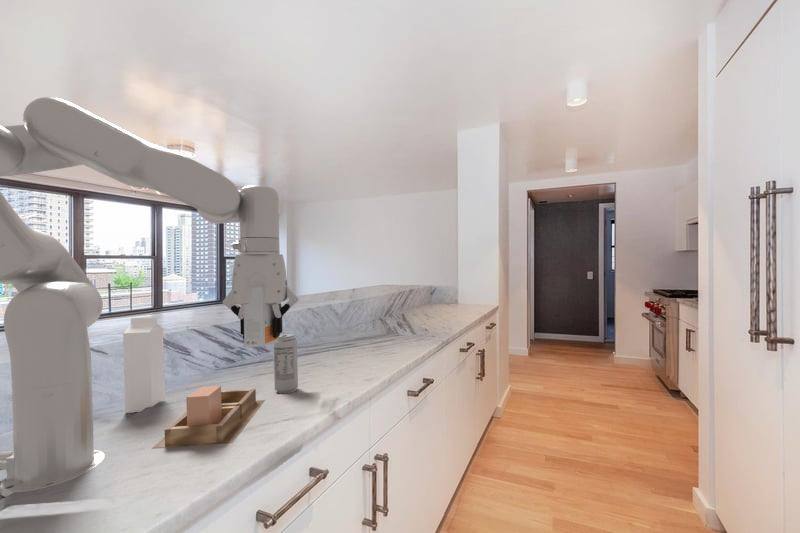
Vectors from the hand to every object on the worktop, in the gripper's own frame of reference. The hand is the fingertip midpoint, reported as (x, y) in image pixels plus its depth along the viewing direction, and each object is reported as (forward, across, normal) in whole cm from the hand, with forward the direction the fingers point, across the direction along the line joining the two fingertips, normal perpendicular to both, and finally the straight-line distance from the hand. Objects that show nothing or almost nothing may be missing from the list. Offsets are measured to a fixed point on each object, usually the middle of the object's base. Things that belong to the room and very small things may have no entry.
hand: (261, 336), depth 75 cm
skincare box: (+2, 0, 0) cm, 2 cm away
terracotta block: (+18, -11, -1) cm, 21 cm away
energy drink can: (+19, -1, +25) cm, 32 cm away
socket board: (+19, -11, +4) cm, 22 cm away
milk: (+20, -33, +18) cm, 42 cm away
